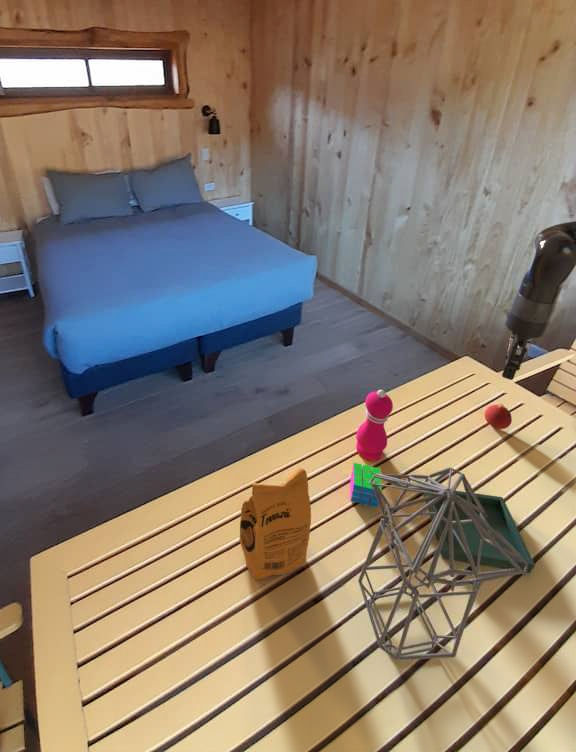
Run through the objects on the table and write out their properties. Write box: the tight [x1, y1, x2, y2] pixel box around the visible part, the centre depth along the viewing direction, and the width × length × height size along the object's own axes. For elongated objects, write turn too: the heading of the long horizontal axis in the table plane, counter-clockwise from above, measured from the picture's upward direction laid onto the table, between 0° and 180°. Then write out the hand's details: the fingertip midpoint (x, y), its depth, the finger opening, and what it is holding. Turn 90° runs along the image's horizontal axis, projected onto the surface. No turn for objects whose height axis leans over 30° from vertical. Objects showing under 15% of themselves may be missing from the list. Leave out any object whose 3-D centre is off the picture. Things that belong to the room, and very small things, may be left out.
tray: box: [422, 490, 536, 574], centre depth 83 cm, size 16×14×3 cm
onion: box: [484, 403, 513, 430], centre depth 105 cm, size 6×6×8 cm
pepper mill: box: [355, 389, 394, 462], centre depth 97 cm, size 7×7×20 cm
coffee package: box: [239, 467, 312, 581], centre depth 76 cm, size 10×12×22 cm
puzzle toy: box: [350, 462, 383, 509], centre depth 90 cm, size 6×6×6 cm
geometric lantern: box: [357, 466, 528, 662], centre depth 62 cm, size 16×16×35 cm
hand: (508, 368), depth 99 cm, fingers open, 8 cm apart
